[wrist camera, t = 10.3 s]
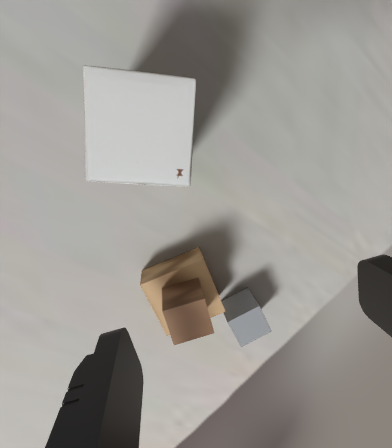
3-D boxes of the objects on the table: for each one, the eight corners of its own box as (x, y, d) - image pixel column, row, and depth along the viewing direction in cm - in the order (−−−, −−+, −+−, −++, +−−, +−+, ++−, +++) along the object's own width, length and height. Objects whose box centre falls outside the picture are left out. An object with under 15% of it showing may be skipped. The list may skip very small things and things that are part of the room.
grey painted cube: (247, 287, 37) (259, 305, 33) (259, 310, 38) (271, 331, 34) (219, 301, 37) (227, 322, 33) (231, 324, 38) (241, 347, 34)
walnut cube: (198, 277, 31) (204, 298, 27) (206, 308, 33) (214, 333, 28) (161, 288, 31) (162, 311, 27) (171, 318, 32) (174, 345, 28)
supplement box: (183, 105, 29) (201, 76, 17) (178, 172, 31) (191, 191, 19) (113, 96, 28) (80, 60, 16) (113, 168, 30) (84, 184, 18)
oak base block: (198, 246, 34) (203, 258, 31) (218, 294, 37) (225, 311, 33) (142, 269, 34) (140, 285, 30) (166, 316, 37) (166, 336, 33)
